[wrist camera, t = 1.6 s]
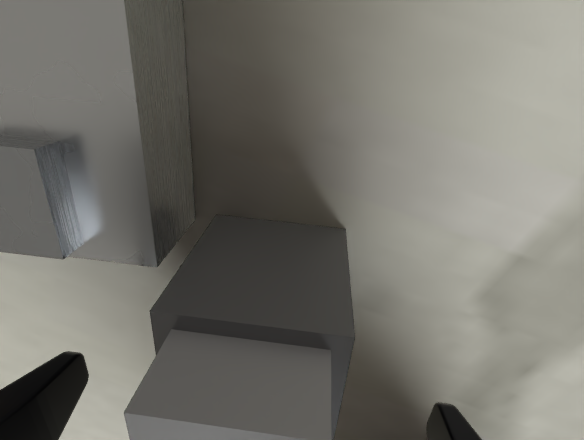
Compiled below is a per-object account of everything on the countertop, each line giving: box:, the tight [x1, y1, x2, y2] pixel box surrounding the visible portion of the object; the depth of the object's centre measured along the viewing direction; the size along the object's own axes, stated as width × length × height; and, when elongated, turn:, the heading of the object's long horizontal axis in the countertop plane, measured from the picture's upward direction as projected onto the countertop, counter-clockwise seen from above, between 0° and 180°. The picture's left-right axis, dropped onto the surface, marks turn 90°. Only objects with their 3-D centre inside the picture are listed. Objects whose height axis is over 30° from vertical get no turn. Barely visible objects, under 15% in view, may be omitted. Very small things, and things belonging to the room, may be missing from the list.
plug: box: [124, 215, 355, 440], centre depth 10 cm, size 4×4×7 cm
